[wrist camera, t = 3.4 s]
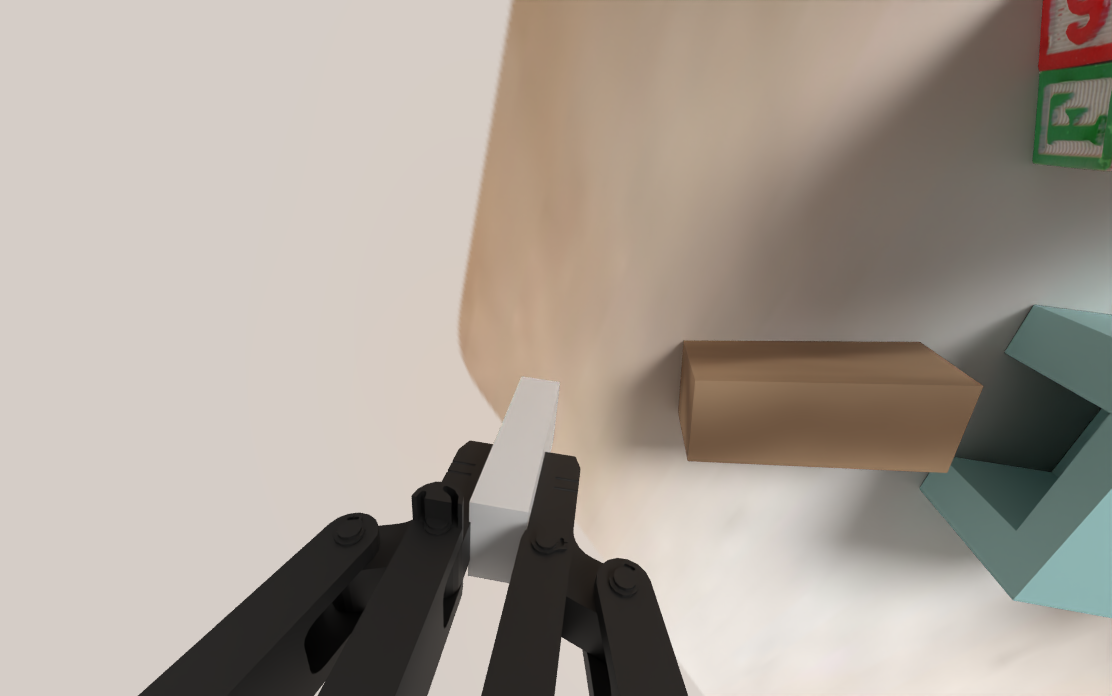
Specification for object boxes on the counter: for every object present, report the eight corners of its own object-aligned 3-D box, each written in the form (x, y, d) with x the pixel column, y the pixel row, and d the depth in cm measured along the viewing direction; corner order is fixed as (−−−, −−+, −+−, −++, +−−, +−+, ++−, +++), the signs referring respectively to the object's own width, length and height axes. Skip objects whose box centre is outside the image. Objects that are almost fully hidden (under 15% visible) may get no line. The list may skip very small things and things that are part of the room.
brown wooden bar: (683, 338, 21) (695, 380, 17) (917, 340, 19) (983, 386, 16) (677, 409, 23) (687, 461, 19) (892, 415, 21) (947, 472, 17)
